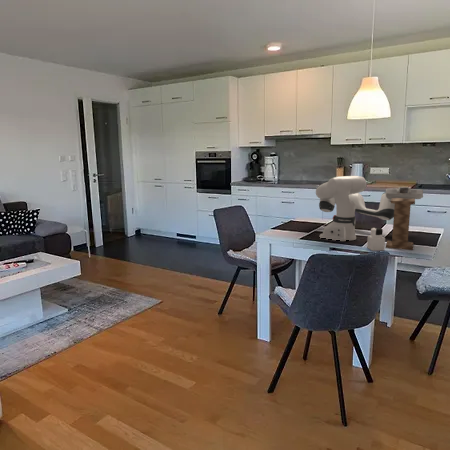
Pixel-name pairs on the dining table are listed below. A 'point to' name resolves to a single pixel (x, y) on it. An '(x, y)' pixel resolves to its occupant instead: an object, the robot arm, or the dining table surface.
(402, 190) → the wooden wick
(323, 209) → the robot arm
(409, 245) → the walnut stand
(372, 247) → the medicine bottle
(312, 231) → the dining table surface
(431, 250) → the dining table surface
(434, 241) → the dining table surface
